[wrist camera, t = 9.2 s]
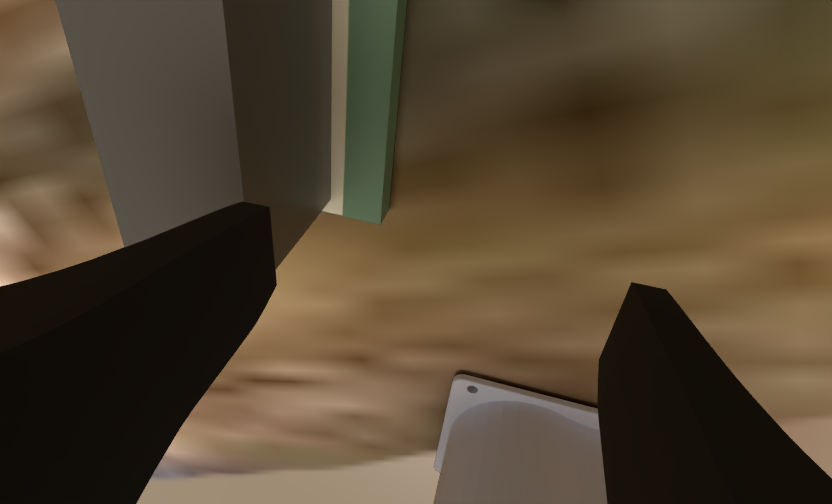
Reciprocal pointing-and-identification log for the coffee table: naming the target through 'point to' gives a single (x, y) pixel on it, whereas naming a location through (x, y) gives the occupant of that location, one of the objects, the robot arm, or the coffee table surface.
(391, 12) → the green and cream box
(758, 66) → the coffee table surface
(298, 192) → the block
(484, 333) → the coffee table surface
